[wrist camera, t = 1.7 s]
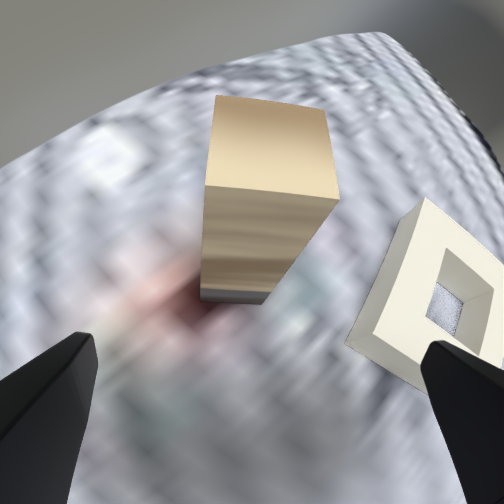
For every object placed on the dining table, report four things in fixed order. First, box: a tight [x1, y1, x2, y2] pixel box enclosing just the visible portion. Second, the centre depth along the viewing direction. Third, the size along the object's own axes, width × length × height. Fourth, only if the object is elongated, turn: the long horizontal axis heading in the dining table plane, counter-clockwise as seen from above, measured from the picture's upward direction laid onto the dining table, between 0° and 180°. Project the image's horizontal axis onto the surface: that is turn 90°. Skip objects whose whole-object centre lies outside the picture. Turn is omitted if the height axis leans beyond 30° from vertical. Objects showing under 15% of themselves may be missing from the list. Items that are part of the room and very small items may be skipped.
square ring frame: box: [345, 198, 504, 395], centre depth 21 cm, size 12×12×4 cm
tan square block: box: [200, 95, 340, 305], centre depth 16 cm, size 4×4×13 cm
